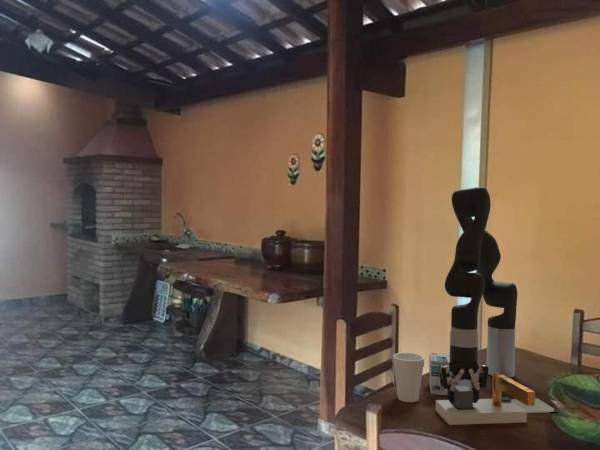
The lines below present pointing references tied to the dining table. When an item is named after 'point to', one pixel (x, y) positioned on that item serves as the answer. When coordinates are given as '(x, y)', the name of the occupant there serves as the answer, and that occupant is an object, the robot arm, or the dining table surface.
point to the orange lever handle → (511, 390)
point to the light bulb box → (437, 372)
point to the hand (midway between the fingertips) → (462, 402)
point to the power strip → (482, 412)
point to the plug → (463, 398)
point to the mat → (538, 408)
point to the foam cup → (408, 375)
